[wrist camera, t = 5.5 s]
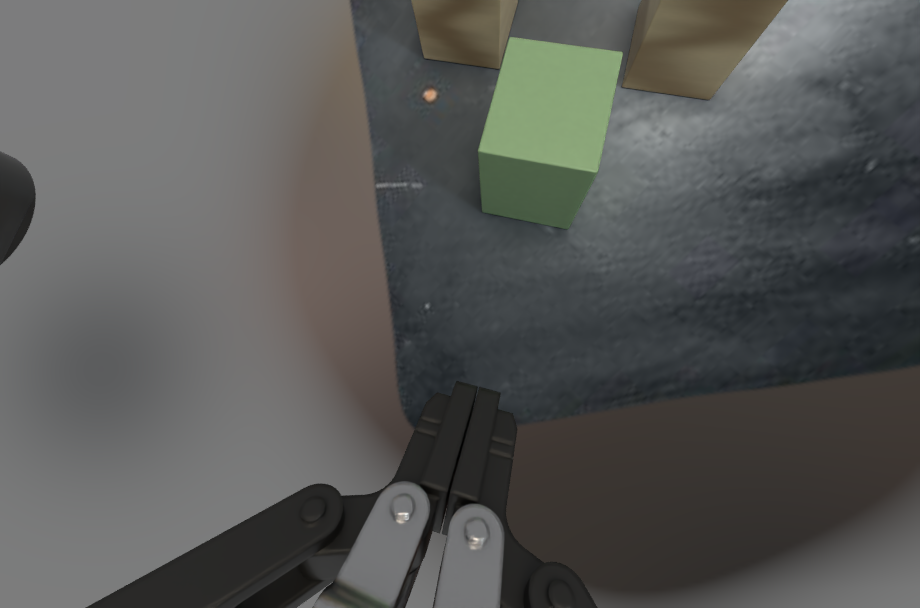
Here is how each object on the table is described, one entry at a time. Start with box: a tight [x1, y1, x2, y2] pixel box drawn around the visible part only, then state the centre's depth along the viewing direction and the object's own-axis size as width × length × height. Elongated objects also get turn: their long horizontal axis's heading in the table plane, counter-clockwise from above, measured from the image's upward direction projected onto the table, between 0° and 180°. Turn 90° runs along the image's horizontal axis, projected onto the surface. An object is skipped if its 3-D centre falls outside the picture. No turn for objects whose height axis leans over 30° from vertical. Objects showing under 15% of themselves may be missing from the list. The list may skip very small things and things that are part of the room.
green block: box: [478, 37, 623, 229], centre depth 22 cm, size 6×7×7 cm
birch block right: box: [622, 0, 788, 100], centre depth 23 cm, size 6×7×7 cm
